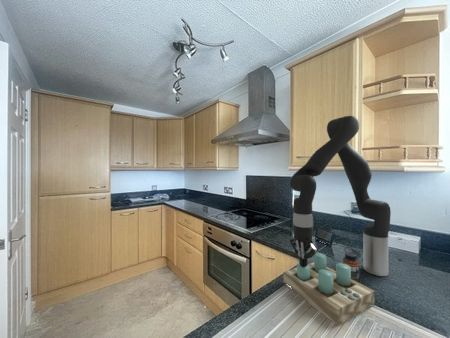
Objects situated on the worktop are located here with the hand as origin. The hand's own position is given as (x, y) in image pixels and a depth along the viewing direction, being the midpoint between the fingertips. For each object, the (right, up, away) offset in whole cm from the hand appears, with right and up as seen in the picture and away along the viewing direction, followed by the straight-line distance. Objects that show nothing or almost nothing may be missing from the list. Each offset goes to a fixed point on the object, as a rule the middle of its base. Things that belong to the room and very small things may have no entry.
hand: (303, 266), depth 78 cm
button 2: (+9, -4, +4) cm, 11 cm away
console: (+7, -9, -3) cm, 12 cm away
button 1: (0, -6, 0) cm, 6 cm away
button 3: (+4, -4, -9) cm, 11 cm away
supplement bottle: (+23, -9, +6) cm, 25 cm away
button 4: (+13, -4, -5) cm, 15 cm away
